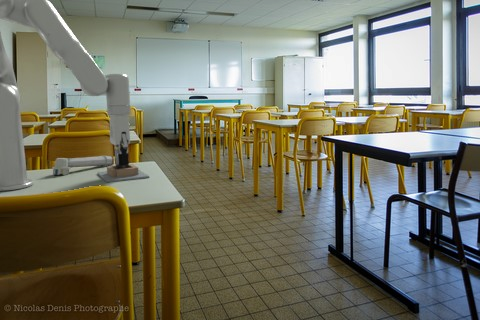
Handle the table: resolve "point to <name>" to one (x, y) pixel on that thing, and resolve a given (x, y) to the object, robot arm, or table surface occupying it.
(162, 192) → the table surface
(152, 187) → the table surface
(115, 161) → the grey and brass cylinder
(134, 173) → the socket block
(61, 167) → the white long slender part
